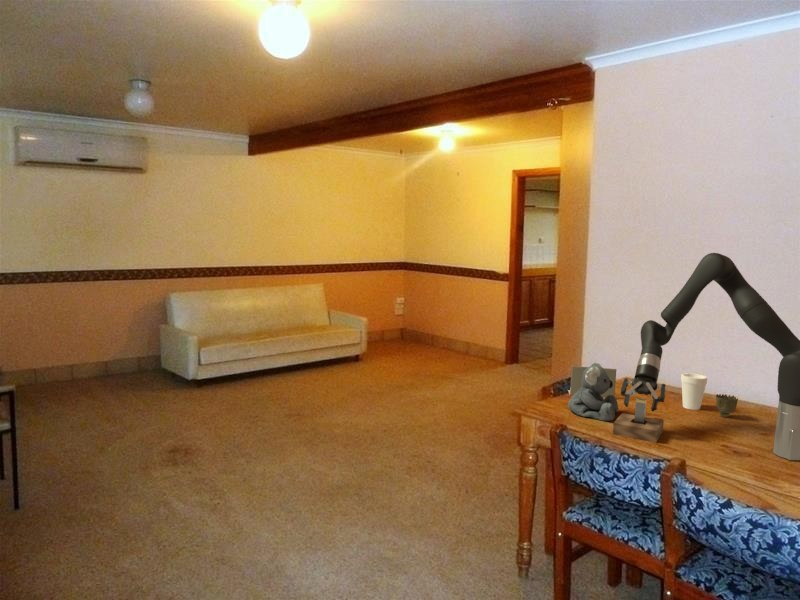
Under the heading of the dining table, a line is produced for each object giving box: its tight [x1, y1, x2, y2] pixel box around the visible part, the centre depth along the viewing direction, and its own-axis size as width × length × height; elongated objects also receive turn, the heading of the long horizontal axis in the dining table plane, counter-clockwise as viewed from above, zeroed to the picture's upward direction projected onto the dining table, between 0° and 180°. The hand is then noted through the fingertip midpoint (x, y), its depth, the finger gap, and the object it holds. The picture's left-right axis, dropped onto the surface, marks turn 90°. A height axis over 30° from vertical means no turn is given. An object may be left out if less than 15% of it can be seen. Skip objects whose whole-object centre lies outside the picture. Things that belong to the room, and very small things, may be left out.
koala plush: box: [567, 361, 619, 422], centre depth 234 cm, size 17×18×20 cm
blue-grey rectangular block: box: [634, 397, 647, 425], centre depth 213 cm, size 3×3×12 cm
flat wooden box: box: [612, 412, 665, 443], centre depth 214 cm, size 14×14×4 cm
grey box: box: [567, 365, 617, 397], centre depth 264 cm, size 18×12×13 cm
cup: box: [715, 393, 739, 418], centre depth 237 cm, size 8×7×8 cm
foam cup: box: [680, 372, 708, 411], centre depth 247 cm, size 10×9×13 cm
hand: (639, 407), depth 212 cm, fingers open, 8 cm apart
